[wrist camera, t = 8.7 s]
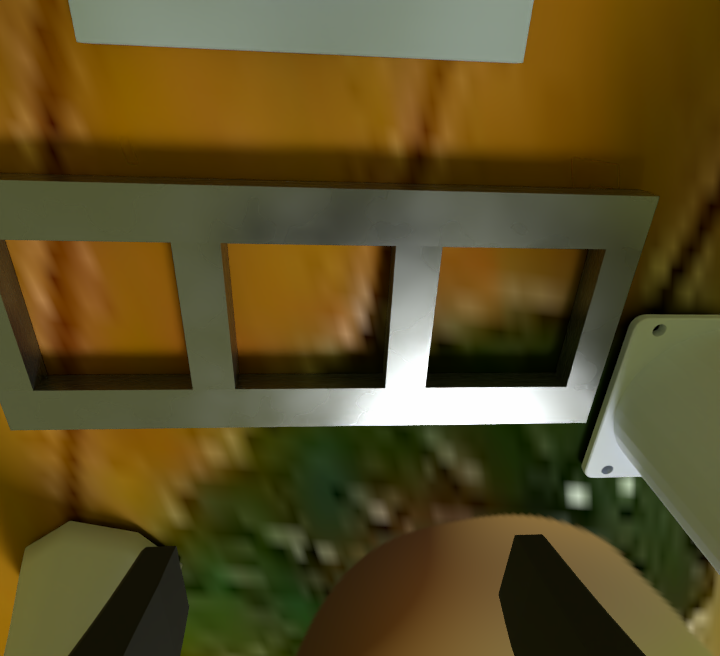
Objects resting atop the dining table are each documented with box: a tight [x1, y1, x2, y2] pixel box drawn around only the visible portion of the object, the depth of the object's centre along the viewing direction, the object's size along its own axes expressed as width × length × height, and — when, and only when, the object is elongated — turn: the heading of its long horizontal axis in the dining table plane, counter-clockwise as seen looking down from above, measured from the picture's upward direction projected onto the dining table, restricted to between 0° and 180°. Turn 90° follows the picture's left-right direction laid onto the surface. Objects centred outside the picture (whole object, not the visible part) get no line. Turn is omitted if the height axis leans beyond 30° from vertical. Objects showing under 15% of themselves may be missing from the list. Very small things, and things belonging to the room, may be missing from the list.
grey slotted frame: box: [0, 173, 659, 430], centre depth 17 cm, size 22×9×1 cm, turn 88°
